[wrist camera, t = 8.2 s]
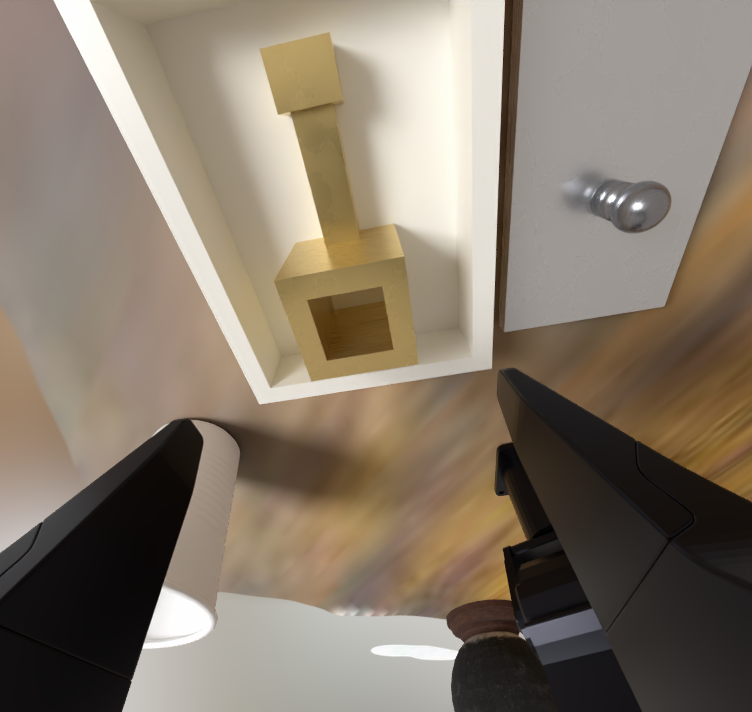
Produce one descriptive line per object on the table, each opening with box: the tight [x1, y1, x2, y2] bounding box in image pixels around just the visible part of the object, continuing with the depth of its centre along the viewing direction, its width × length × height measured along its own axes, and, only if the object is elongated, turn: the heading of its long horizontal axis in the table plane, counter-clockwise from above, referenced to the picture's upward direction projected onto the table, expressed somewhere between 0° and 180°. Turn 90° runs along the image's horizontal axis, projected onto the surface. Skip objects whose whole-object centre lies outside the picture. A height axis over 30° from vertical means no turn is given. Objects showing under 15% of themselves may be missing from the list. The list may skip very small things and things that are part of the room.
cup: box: [142, 420, 240, 649], centre depth 21 cm, size 10×10×11 cm
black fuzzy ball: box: [447, 600, 559, 712], centre depth 42 cm, size 13×13×15 cm
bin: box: [54, 0, 505, 404], centre depth 15 cm, size 17×13×4 cm
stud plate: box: [498, 0, 752, 332], centre depth 14 cm, size 16×9×4 cm, turn 10°
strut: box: [260, 32, 419, 382], centre depth 14 cm, size 12×5×5 cm, turn 10°
